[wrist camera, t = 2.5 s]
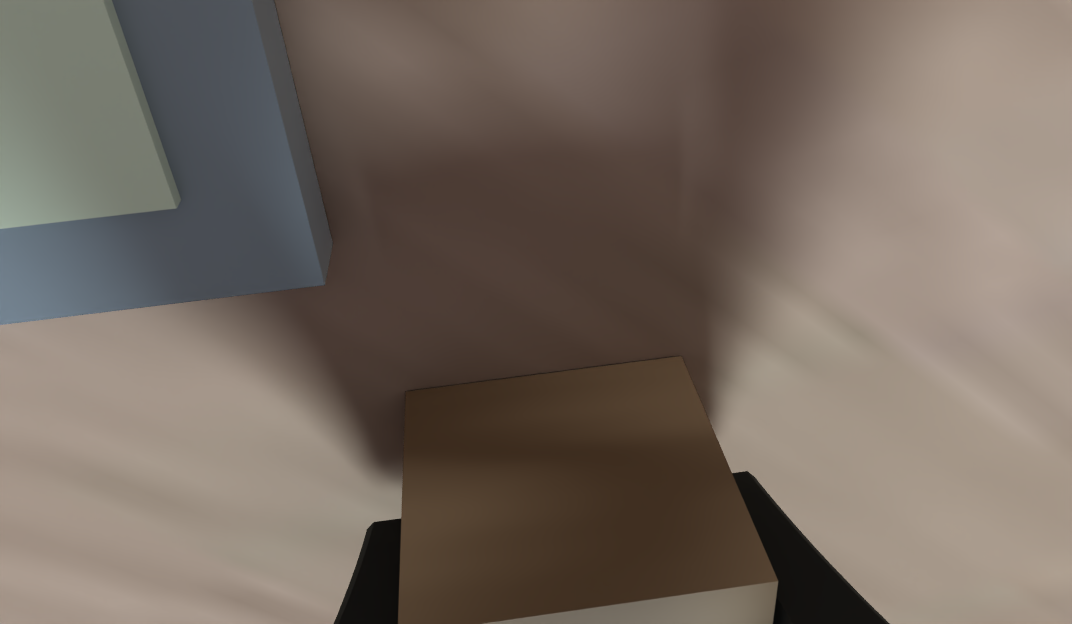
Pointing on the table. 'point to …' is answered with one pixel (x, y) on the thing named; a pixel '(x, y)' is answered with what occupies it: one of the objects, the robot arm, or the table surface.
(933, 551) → the table surface
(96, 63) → the baseplate
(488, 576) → the brass cube
